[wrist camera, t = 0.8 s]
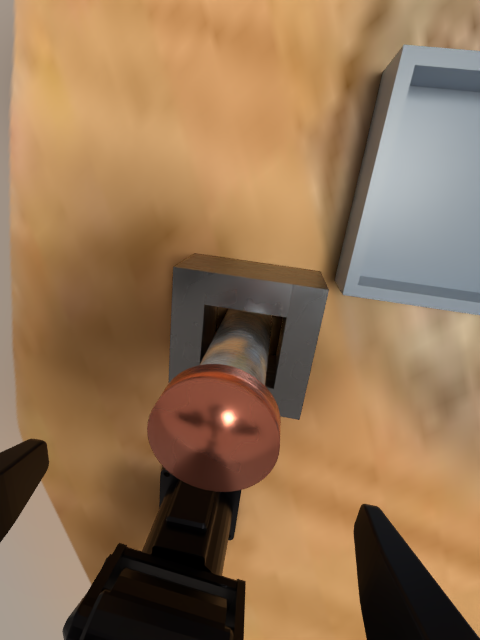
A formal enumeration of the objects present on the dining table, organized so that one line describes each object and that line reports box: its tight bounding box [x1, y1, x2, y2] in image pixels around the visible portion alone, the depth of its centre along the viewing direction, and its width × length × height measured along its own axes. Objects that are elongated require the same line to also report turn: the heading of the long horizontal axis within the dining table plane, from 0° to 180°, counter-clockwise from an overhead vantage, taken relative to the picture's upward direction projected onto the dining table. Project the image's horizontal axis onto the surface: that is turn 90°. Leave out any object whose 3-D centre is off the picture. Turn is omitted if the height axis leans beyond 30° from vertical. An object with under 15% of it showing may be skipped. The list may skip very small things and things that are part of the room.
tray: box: [335, 45, 480, 315], centre depth 15 cm, size 10×10×3 cm
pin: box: [147, 308, 280, 492], centre depth 16 cm, size 4×4×11 cm
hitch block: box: [169, 254, 329, 420], centre depth 19 cm, size 8×8×4 cm
